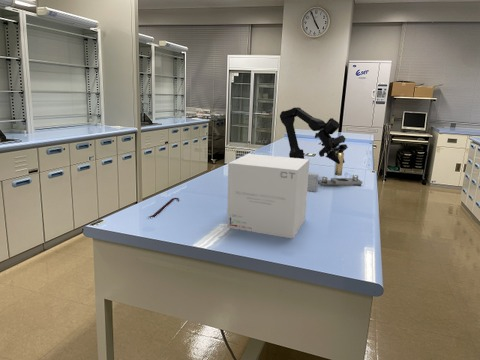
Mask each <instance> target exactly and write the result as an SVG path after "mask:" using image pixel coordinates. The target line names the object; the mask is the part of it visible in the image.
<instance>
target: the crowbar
mask: <svg viewBox="0 0 480 360" xmlns="http://www.w3.org/2000/svg"><path fill="white" fill-rule="evenodd" d="M174 199H178V200H179V201H180V198H179V197H172V198H171V199H169V201H167V202H166V203H165V204H164V205H163V206H162V207H160V208H159V209H158V210H157V211H156V212H154V213H153V215H150V216H148V218H151V217H154V218H156V217H157V216H158V215H160V213H161V212H163V209H164V208H165V207H166V206H167V207H168V206H169V205H171V204H172V203H173V202H174V201H175V200H174ZM178 200H177V201H178ZM167 207H166V208H167ZM166 208H165V209H166ZM165 209H164V210H165ZM157 214H158V215H157ZM156 215H157V216H156ZM155 216H156V217H155Z"/></svg>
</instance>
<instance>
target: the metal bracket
mask: <svg viewBox="0 0 480 360" xmlns="http://www.w3.org/2000/svg"><path fill="white" fill-rule="evenodd" d="M362 184H363V181H362V180H361V179H359V175H357V174H353V175H352V177H331V178H330V179H328V177H327V176H321V180H320V179H318V185H319V186H321V187H327V186H328V187H340V186H341V187H353V186H358V187H360V186H362Z"/></svg>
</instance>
